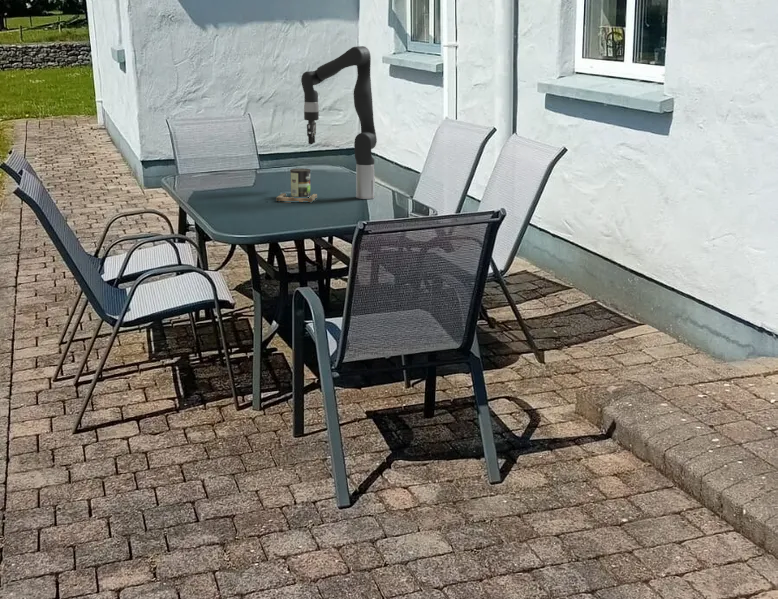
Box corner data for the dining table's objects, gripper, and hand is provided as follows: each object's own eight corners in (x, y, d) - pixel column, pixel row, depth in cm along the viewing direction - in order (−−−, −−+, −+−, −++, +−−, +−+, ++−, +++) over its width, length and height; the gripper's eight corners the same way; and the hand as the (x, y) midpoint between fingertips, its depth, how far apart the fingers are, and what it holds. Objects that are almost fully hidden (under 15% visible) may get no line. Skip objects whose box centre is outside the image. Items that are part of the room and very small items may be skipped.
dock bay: (316, 198, 500) (316, 194, 499) (312, 203, 486) (312, 198, 486) (282, 197, 502) (282, 193, 501) (276, 202, 488) (276, 197, 488)
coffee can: (313, 195, 507) (312, 168, 504) (307, 199, 498) (307, 171, 494) (293, 195, 509) (293, 167, 506) (288, 198, 500) (287, 170, 496)
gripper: (316, 112, 501) (316, 145, 506) (320, 109, 515) (321, 142, 519) (301, 111, 502) (302, 145, 506) (306, 109, 516) (307, 141, 520)
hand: (311, 143), depth 513 cm, fingers open, 5 cm apart
